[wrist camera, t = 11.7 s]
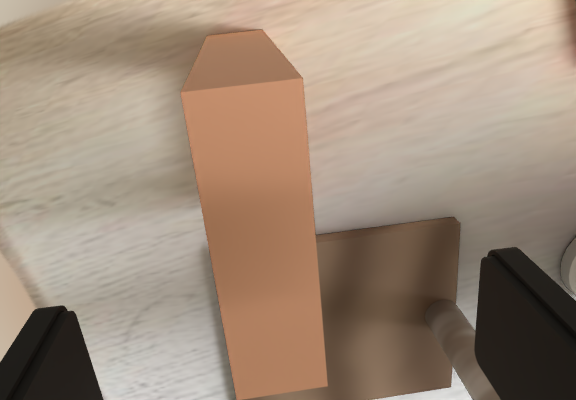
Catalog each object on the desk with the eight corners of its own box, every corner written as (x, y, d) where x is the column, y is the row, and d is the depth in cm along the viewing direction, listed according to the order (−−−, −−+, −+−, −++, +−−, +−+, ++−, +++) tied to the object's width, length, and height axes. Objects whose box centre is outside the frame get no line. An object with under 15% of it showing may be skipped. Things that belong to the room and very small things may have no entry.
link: (262, 29, 27) (303, 78, 12) (280, 197, 31) (327, 386, 16) (207, 35, 26) (180, 92, 12) (232, 203, 30) (236, 400, 16)
